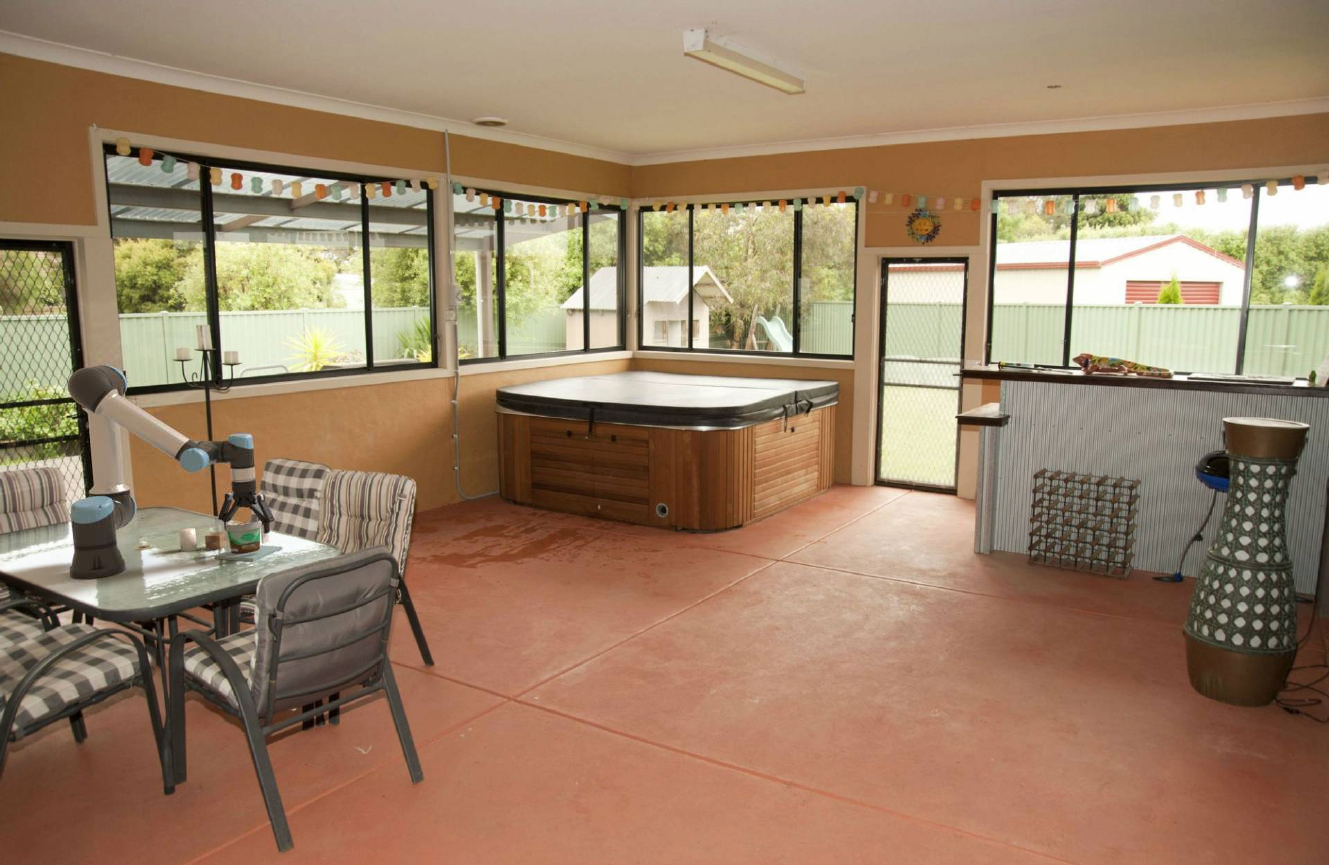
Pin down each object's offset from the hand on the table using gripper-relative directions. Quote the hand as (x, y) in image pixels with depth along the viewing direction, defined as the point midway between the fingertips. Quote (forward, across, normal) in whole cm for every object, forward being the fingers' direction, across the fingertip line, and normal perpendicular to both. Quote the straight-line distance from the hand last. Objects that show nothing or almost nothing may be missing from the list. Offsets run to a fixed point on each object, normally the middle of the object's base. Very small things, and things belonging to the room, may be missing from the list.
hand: (247, 541), depth 314 cm
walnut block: (+4, +17, -5) cm, 18 cm away
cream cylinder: (+4, +25, -1) cm, 25 cm away
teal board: (+4, 0, 0) cm, 4 cm away
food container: (+4, 0, 0) cm, 4 cm away
